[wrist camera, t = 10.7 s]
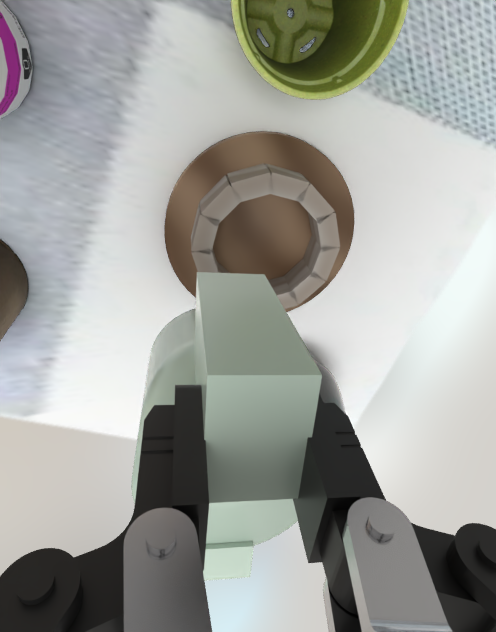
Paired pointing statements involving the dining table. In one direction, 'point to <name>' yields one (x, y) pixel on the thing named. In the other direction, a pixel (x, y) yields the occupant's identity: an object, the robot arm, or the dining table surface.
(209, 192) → the stone ring brown dish
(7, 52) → the supplement can
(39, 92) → the dining table surface
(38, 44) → the dining table surface
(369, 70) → the plant pot
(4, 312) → the pillar candle
